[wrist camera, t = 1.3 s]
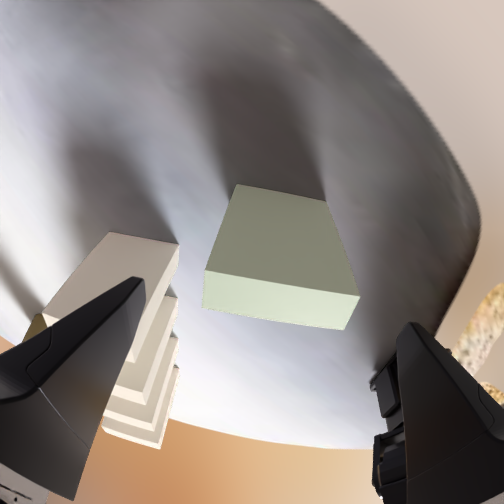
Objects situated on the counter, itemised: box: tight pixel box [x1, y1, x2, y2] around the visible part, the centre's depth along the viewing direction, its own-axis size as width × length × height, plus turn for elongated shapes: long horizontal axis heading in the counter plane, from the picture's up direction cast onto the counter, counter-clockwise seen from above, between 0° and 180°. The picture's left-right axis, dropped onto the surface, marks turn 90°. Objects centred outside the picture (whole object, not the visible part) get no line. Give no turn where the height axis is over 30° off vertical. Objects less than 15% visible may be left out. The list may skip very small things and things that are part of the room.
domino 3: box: [103, 337, 179, 432], centre depth 20 cm, size 2×5×8 cm, turn 81°
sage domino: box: [202, 184, 360, 330], centre depth 13 cm, size 2×5×8 cm, turn 80°
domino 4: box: [102, 367, 180, 449], centre depth 22 cm, size 2×5×8 cm, turn 81°
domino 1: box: [42, 232, 179, 363], centre depth 15 cm, size 2×5×8 cm, turn 81°
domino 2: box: [111, 295, 178, 405], centre depth 17 cm, size 2×5×8 cm, turn 80°
